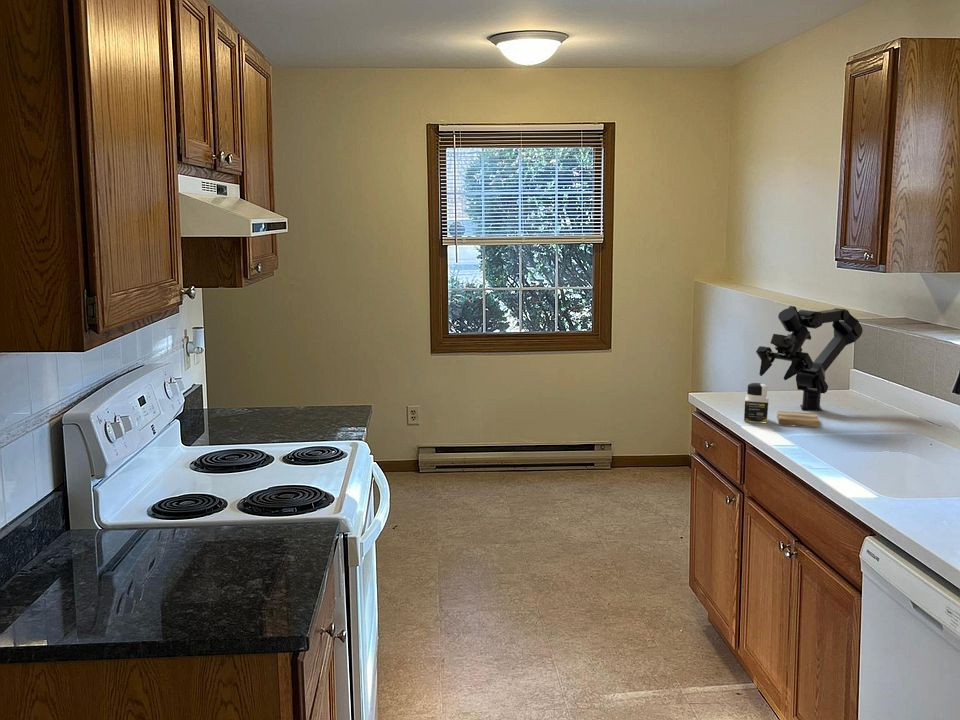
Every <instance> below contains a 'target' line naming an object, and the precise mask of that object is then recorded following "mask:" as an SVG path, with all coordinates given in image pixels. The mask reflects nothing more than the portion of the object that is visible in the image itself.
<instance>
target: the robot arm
mask: <svg viewBox="0 0 960 720" xmlns="http://www.w3.org/2000/svg"><path fill="white" fill-rule="evenodd" d="M777 317H778V320H779V321H780V323H781V325H782V326H783V328H784V330H785V331H786V332H788V334H787V335H784V334H778V333H773V334H772V336H771V339H770V344H771V345H774V346H775V347H774V349H775V351H773V350H772V348H771V347H770V346H769V347H768V346H762V345H760V346H758V348H757V349H756V350H755V351H756V355H757V356H758V357H759V360H760V369H759V376H760V377H762V376H763V375H764V374H766V373H767V371H768V370H769V369H770V368H771V366H773V363H774V362H775V360H783V361H784V362H785V361H786V362H791V363H790V365H789V367H788V369H787V370H786V372H785V374H784V376H783V380H784V381H787V380H788V379H791V378H792V377H794V376H795V375H796V376H795V382H796V387H797V390H798V391H803V392H802V393H803V394H802V404H800V409H801V410H804V411H816V412H817V411H820V412H821V411H822V410H823V409H822V407H821V396H822V395H821V394H826V393H827V392H828V390H829V389H828V388H829V385H828V384H827V382H826V371H827V370H828V369H829V368H830V366H831V365H832V364H833V362H834V361H836V359H837V357H839V355H840V354H841V353H842V351H843V350H844V348H846V346H848V345H851V344H853V343H856V342H857V340H858V339H860V337H861V335H862V334H863V327H862V325H861V324H860V321H859V320H858V319H857V318H855V317H854V316H853V315H852V314H851V313H850V311H849V310H848V309H846V308H837V307H836V308H833V309H828V310H827V309H826V310H818V311H816V310H815V311H814V310H804V309H799V310H798V309H797V307H796V306H795V305H794V306H793V305H789V307H788V308H785V309H782V310H781V311H780V312H779V313H778V316H777ZM828 323H832V328H833V337H832V338H831V340H830V341H829V342H828V343H827V344H826V346H825V347H824V348H823V349H822V351H821V352H820V353H819V355H818V356H817V357H816V358H815V359H814V361H813V360H812V357H811V355H810V354H809V352H804V351H803V348H802V347H803V345H804V343H805V342H806V341H807V340H809V341H811V340H812V336H811V331H809V330H808V329H818V328H821V326H822V325H823V324H828Z"/></svg>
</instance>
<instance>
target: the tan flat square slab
mask: <svg viewBox="0 0 960 720" xmlns="http://www.w3.org/2000/svg"><path fill="white" fill-rule="evenodd" d="M776 418H777V423H778V426H786V425H795V426H794V427H801V426H808V427H807V428H817V427H819V428H820V419H819V417H818V415H817V413H815V412H800V411H799V412H798V411H797V412H796V411H795V412H794V411H781V410H777V412H776Z"/></svg>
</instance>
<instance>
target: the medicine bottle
mask: <svg viewBox="0 0 960 720" xmlns="http://www.w3.org/2000/svg"><path fill="white" fill-rule="evenodd" d="M746 392H747V393H746V396H745V399H744V408H743V409H744V411H743V422H744V421H751V422H750V423H755V422H766V423H765V424H768V414H769V412H768V411H769V398H768V397H767V395H768V386H767V385H766V384H764V383H760V382H751V383H749V384H748V385H747V391H746Z"/></svg>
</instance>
